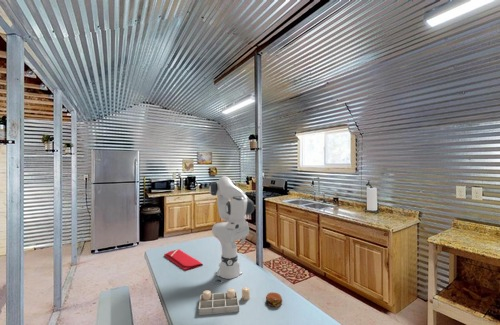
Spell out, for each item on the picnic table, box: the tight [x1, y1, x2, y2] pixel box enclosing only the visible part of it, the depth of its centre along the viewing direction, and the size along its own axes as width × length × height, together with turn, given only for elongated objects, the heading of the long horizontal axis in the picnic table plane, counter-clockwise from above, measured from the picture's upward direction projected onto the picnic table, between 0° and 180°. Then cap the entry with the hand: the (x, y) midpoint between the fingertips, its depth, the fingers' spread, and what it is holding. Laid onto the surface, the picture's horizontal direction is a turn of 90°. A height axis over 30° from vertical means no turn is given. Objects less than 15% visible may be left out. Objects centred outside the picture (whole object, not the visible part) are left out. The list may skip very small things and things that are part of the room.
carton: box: [198, 291, 240, 316], centre depth 136 cm, size 15×22×4 cm
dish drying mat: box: [164, 248, 203, 272], centre depth 202 cm, size 16×41×4 cm, turn 42°
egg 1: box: [202, 290, 212, 301], centre depth 139 cm, size 5×5×6 cm
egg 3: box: [241, 286, 251, 301], centre depth 143 cm, size 5×5×6 cm
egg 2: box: [226, 288, 236, 299], centre depth 140 cm, size 5×5×6 cm
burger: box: [265, 292, 283, 308], centre depth 140 cm, size 10×9×5 cm
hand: (238, 246), depth 144 cm, fingers open, 8 cm apart
